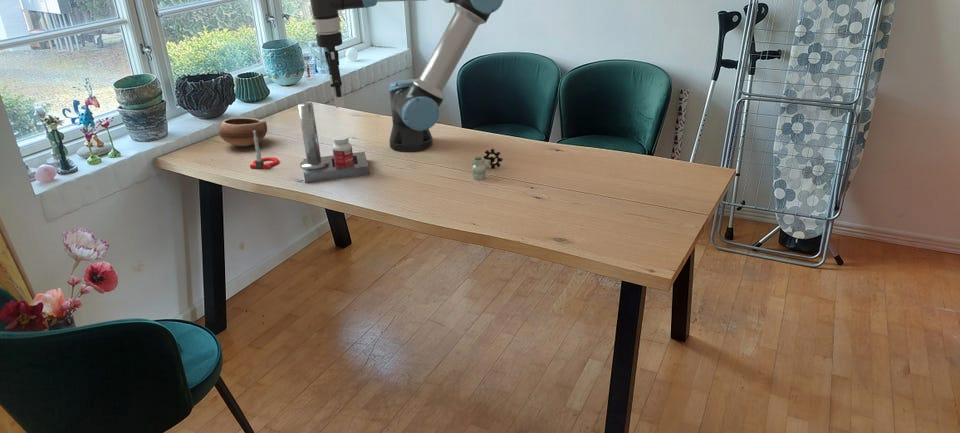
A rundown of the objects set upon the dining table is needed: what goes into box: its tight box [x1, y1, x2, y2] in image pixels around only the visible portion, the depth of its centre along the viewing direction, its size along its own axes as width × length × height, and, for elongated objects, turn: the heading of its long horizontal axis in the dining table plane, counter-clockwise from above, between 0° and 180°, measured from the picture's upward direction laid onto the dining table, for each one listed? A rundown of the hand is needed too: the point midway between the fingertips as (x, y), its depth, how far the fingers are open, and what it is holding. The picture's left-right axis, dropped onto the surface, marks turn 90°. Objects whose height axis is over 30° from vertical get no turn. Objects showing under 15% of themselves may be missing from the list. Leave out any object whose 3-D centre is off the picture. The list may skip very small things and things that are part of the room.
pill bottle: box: [332, 135, 354, 167], centre depth 220 cm, size 6×6×11 cm
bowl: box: [219, 117, 268, 147], centre depth 247 cm, size 16×16×10 cm
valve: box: [471, 148, 503, 182], centre depth 212 cm, size 7×7×12 cm
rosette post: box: [297, 101, 370, 184], centre depth 216 cm, size 21×14×23 cm, turn 103°
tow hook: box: [249, 131, 280, 169], centre depth 228 cm, size 8×13×9 cm
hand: (338, 101), depth 214 cm, fingers open, 13 cm apart
